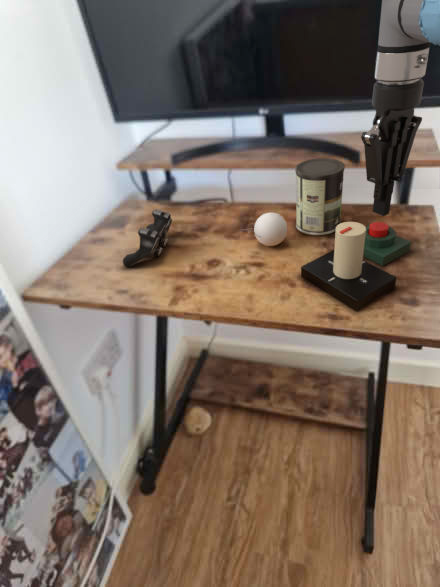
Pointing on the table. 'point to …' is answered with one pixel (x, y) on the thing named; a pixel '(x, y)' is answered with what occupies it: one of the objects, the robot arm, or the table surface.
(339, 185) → the coffee can
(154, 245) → the game controller
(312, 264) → the panel
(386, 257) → the button box
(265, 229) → the white sphere
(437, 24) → the robot arm
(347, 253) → the dial
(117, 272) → the table surface
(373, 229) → the red button
